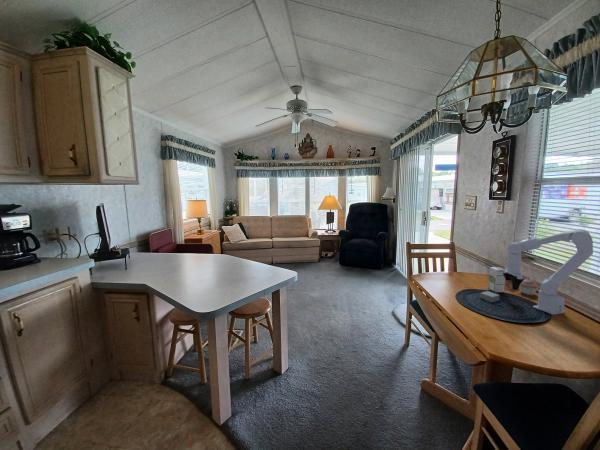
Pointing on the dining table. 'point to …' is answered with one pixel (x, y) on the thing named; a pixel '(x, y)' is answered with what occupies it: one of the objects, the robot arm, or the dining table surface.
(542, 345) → the dining table surface
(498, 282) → the syrup box
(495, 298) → the slate slab block
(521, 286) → the cupcake
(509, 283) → the terracotta cube
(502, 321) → the dining table surface
